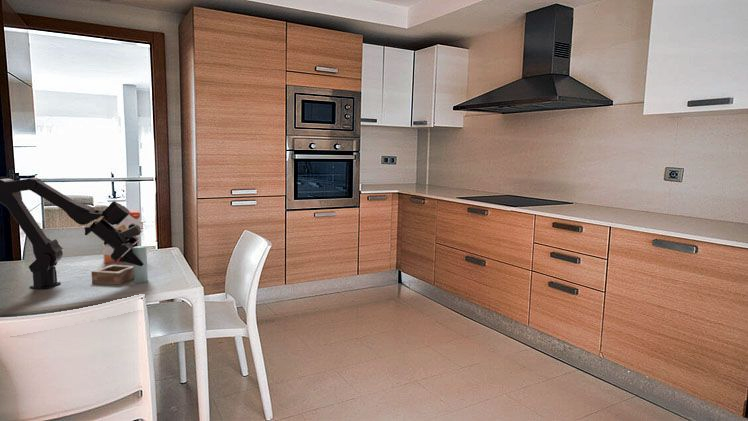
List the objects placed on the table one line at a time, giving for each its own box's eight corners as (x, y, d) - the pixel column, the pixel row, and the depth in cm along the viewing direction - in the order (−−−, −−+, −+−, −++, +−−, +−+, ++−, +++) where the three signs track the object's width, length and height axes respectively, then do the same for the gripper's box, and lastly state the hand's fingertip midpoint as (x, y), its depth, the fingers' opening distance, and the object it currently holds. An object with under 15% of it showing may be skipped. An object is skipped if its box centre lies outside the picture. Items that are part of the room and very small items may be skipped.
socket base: (119, 284, 164) (118, 273, 163) (92, 282, 165) (91, 271, 165) (137, 276, 174) (137, 265, 174) (112, 274, 175) (111, 264, 175)
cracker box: (104, 264, 191) (101, 213, 188) (103, 260, 196) (100, 212, 193) (142, 260, 199) (140, 211, 196) (140, 257, 204) (138, 210, 201)
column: (142, 283, 166) (141, 248, 164) (131, 282, 167) (129, 248, 165) (150, 279, 170) (148, 246, 169) (139, 278, 171) (137, 245, 169)
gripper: (119, 222, 155) (156, 252, 160) (131, 214, 173) (164, 241, 178) (94, 246, 154) (132, 276, 159) (108, 235, 172) (142, 263, 176)
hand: (144, 263), depth 168 cm, fingers open, 6 cm apart
